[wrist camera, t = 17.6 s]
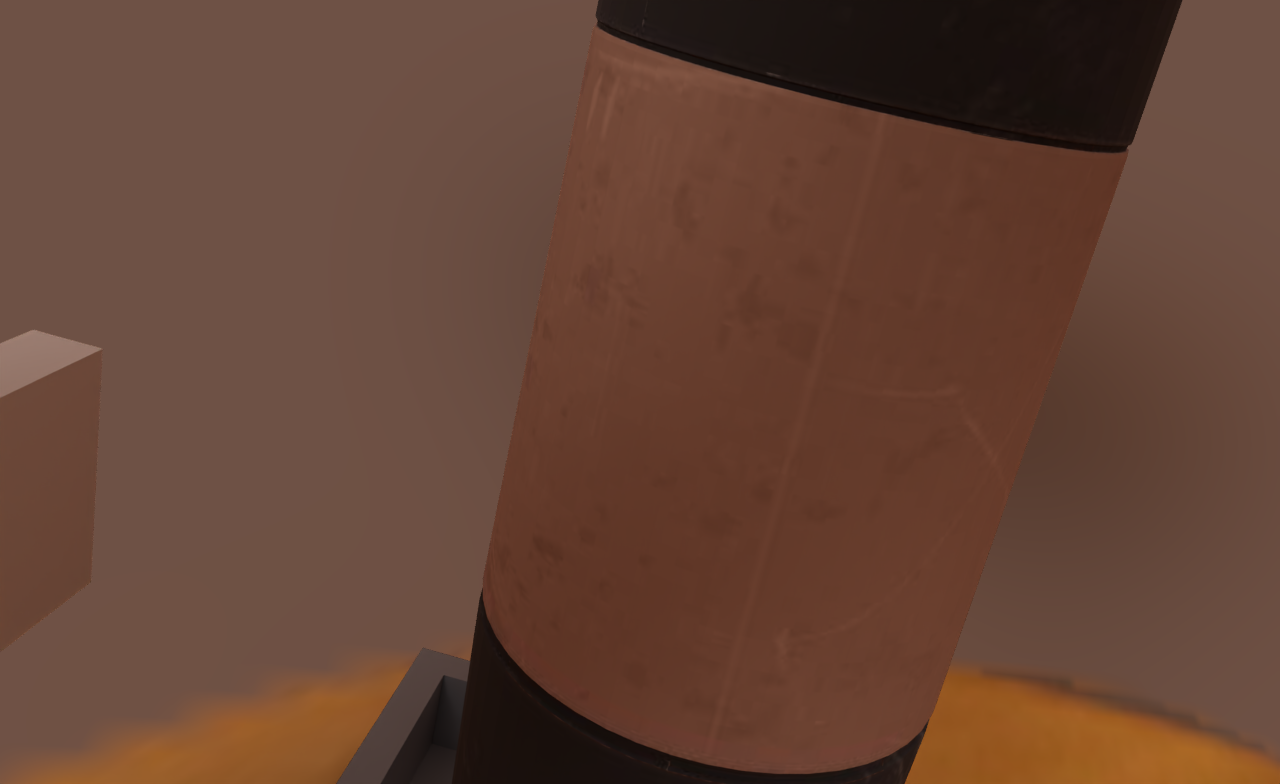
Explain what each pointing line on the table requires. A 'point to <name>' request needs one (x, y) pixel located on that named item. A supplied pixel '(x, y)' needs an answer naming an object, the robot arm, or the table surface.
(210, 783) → the table surface
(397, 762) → the tray
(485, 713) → the travel mug
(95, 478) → the robot arm
